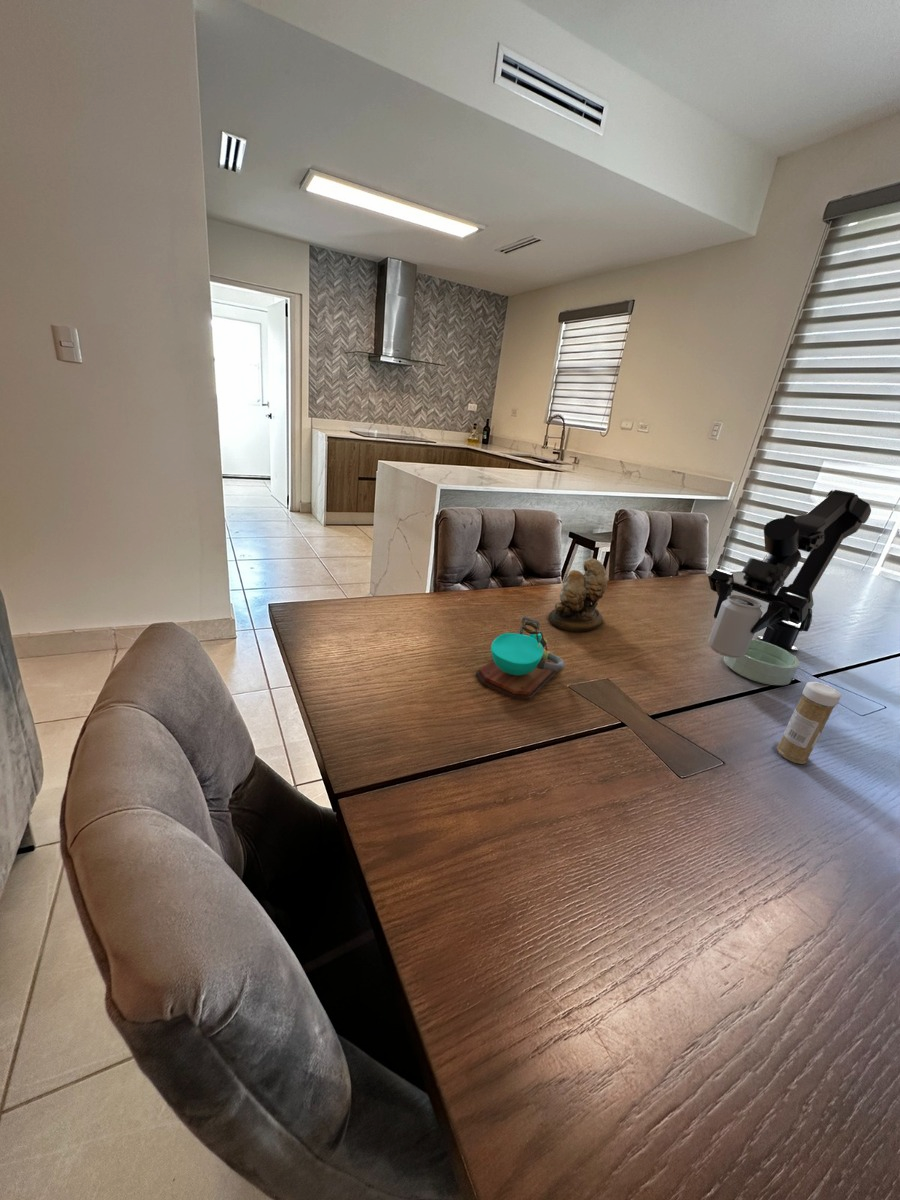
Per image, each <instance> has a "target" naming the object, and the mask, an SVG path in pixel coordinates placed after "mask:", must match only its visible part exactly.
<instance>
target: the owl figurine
mask: <svg viewBox="0 0 900 1200" xmlns="http://www.w3.org/2000/svg"><path fill="white" fill-rule="evenodd" d="M583 570H584V574H583V573H582V572H581V571H579V570H577V569H571V570H569V572H568V575H567V576H566V578H564V581H563V583H562V587H561V589H560V593H559V600H560V602H556V603H555V605H554V609H553V610H551V611H550V612H549V615H548V621H549V623H550V624H551V625H552V626H554V627H555V628H558V629H560V630H564V631H566V632H570V633H571V632H572V633H573V632H574V633H579V632H580V633H582V632H588V631H592V630H595V629H597V628H598V627H599V626H600V625H601V624H602V622H603V615H602V614H601V612H600V611H599V610H598V609H597V606H598V603H599V601H600V600H601V599H602V598H603V597H604V594H605V593H606V590H607V587H608V577H607V571H606V568H605V566H604V564H603V563H602V562H601V561H600V560H599V559H598V558H597V559H596V558H593V557H589V558H587V559H585V560H584V563H583Z"/></svg>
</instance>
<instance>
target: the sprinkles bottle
mask: <svg viewBox="0 0 900 1200" xmlns="http://www.w3.org/2000/svg"><path fill="white" fill-rule="evenodd" d="M840 699H841V693H840V692H839V691H838V690H837V689H835V688H834V687H832V686H830V685H827V684H825V683H822V682H818V681H808V682H806V683H805V686H804V688H803V690H802V693H801V697H800V699H799V701H798V703H797V705H796V707H795V709H794V711H793V713H792V715H791V717H790V719H789V721H788V723H787V725H786V727H785V728H784V732H783V735H782V737H781V739H780V741H779V743H778V744H777V746H776V752H777V753H778V754H779V756H781V757H782V758H784V759H786V760H788V761H790V762H791V763H794V764H799V765H804V764H806V763H808V762H809V757H810V756H811V753H812V752H813V749H814V748H815V747H816V745H817V743H818V741H819V739H820V737H821V735H822V732H823V730H824V728H825V725H826V723H827V722H828V720H829V719H830V715H831V714H832V712H833V709H834V708H835V707H836V706H837V705H838V704H839V701H840Z"/></svg>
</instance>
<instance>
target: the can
mask: <svg viewBox="0 0 900 1200" xmlns="http://www.w3.org/2000/svg"><path fill="white" fill-rule="evenodd" d="M727 598H728V599H727V600H725V601H723V602H722V604H721V607H720V610H719V612H718V615H717V618H715V620H714V623H713V626H712V629H711V631H710V635H709V638H708V640H707V644H708V645H709V647H710V649H711V650H712V651H713V652H715V653H716V654H719V655H721V656H727V657H733V658H738V657H740V656H744V655H746V653H747V650H748V648H749V645H750V643H751V640H752V639H754V635H755V633H754V634H752V633H751V630H752V629H753V627H754V626H755V624H756V623H757V622H758V621H759V620H760V618H761V617H762V616H763V611H762V609H761V608H762V604H761V603H760V602H759V601H757V600H756V599H754V598H751V597H748V596H744V595H738V594H731V595H730V596H728V597H727Z"/></svg>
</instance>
